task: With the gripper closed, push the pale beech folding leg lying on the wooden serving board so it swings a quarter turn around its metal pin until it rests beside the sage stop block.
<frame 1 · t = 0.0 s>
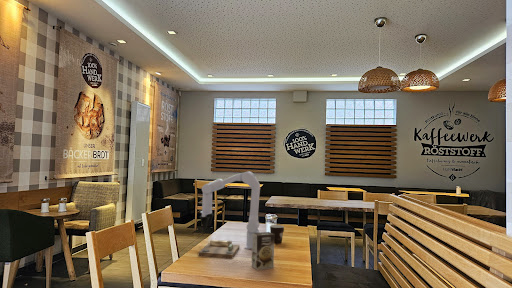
hand: (206, 227, 206), 10 cm above the table, tool pointing down, fingers open, 7 cm apart
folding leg: (221, 242, 197), point 3 cm above the table, hinge at 0.0°
wooden serving board: (219, 252, 190), on the table
coffee box: (262, 267, 167), on the table
coffee mug: (278, 242, 216), on the table
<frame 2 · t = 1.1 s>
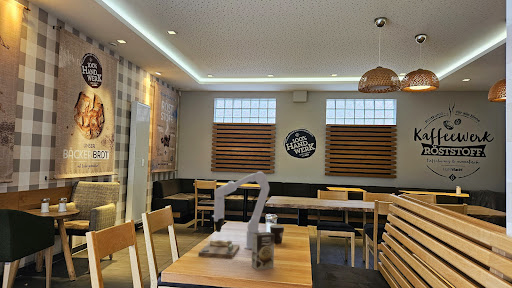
hand: (218, 231, 203), 8 cm above the table, tool pointing down, fingers closed
nothing on the table moved.
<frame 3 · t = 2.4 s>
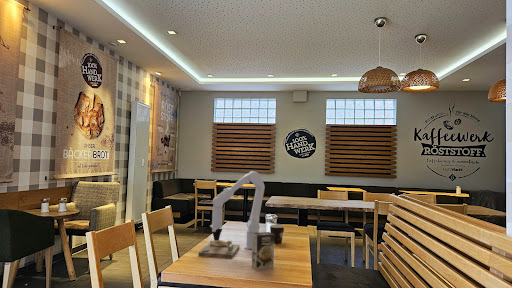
hand: (216, 241, 199), 3 cm above the table, tool pointing down, fingers closed
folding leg: (221, 243, 197), point 3 cm above the table, hinge at 0.2°, touching gripper
everything else where it was.
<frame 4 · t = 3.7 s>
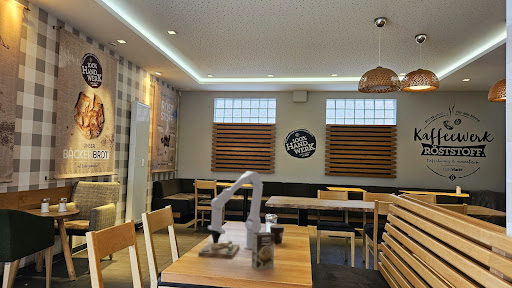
hand: (215, 244, 192), 4 cm above the table, tool pointing down, fingers closed, pressing on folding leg
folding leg: (222, 244, 193), point 3 cm above the table, hinge at 45.1°, touching gripper
everything else where it was.
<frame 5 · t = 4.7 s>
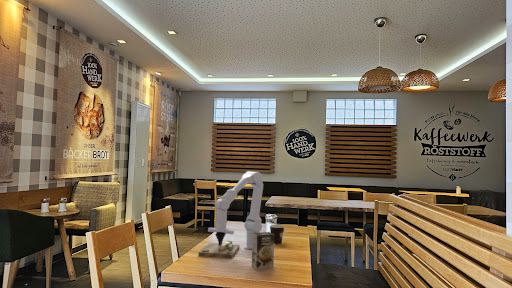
hand: (220, 246, 189), 4 cm above the table, tool pointing down, fingers closed, pressing on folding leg
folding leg: (225, 245, 191), point 3 cm above the table, hinge at 76.1°, touching gripper
everything else where it was.
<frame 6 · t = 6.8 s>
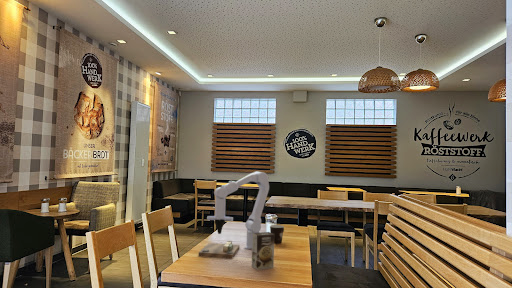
hand: (219, 233, 195), 9 cm above the table, tool pointing down, fingers closed
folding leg: (227, 245, 191), point 3 cm above the table, hinge at 90.4°
everything else where it was.
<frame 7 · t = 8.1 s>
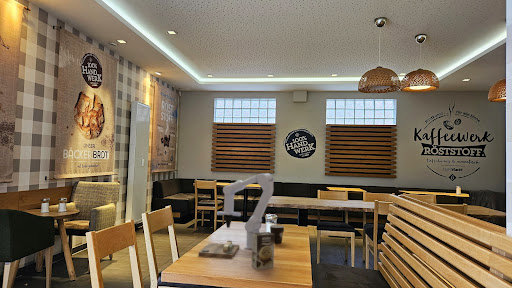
hand: (228, 227, 211), 9 cm above the table, tool pointing down, fingers closed
nothing on the table moved.
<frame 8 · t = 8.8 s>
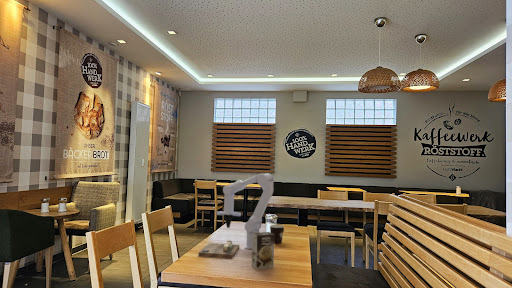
hand: (228, 227, 211), 9 cm above the table, tool pointing down, fingers closed
nothing on the table moved.
at the end: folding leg at +90° (first picture: +0°); coffee box moved 0.2 cm from its start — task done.
